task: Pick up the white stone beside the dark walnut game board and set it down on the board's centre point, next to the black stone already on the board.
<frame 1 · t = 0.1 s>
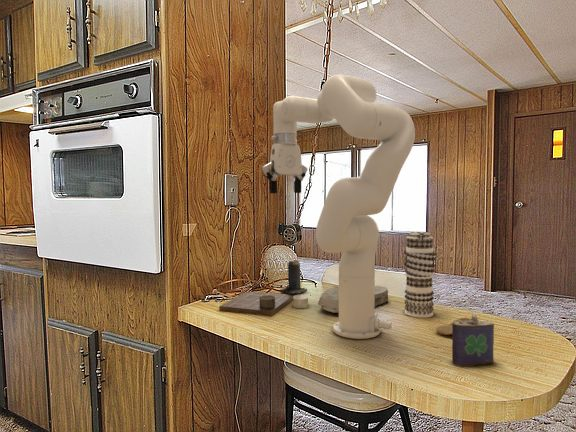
hand: (285, 193, 136), 37 cm above the table, tool pointing down, fingers open, 9 cm apart
flask: (473, 364, 90), on the table
dark post with base: (294, 292, 155), on the table
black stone: (267, 306, 130), point 2 cm above the table, touching board
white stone: (300, 306, 136), on the table
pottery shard: (459, 334, 109), on the table
board: (258, 304, 138), on the table
fossil stone: (352, 306, 136), on the table
decorative candle: (418, 313, 127), on the table
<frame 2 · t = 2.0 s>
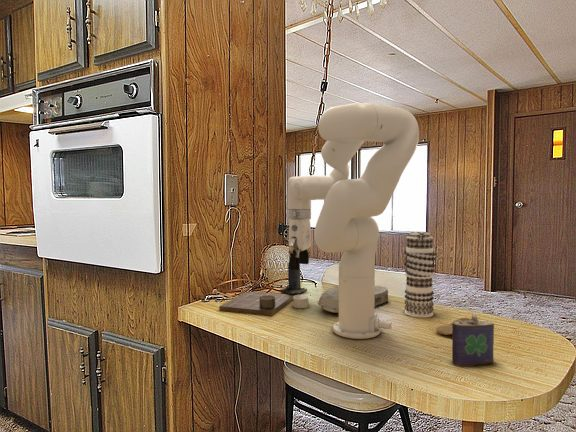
hand: (299, 266, 135), 13 cm above the table, tool pointing down, fingers open, 9 cm apart
nothing on the table moved.
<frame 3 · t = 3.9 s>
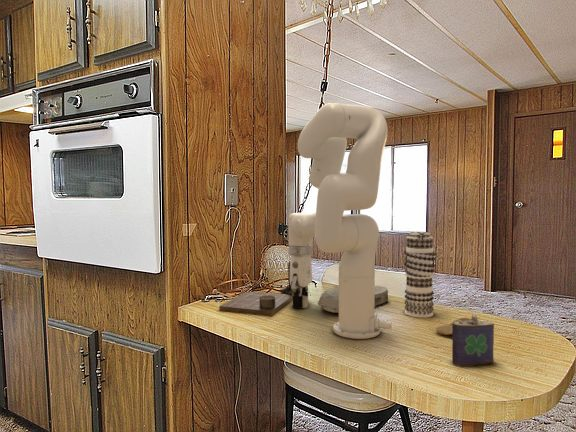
hand: (300, 304, 136), 0 cm above the table, tool pointing down, fingers closed on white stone, 5 cm apart
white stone: (300, 306, 136), on the table, touching gripper
everything else where it was.
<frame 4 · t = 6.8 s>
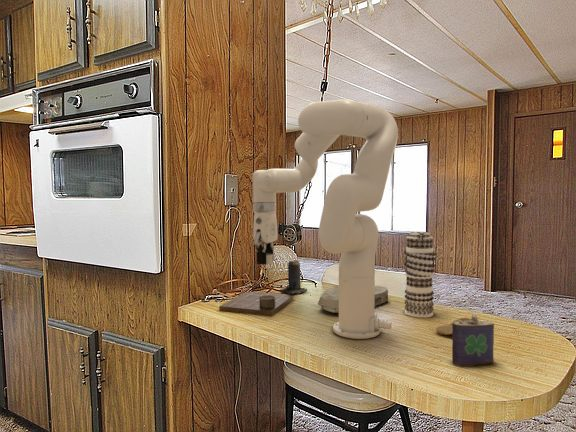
hand: (265, 262, 137), 14 cm above the table, tool pointing down, fingers closed on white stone, 5 cm apart
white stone: (265, 263, 137), point 14 cm above the table, touching gripper
everything else where it was.
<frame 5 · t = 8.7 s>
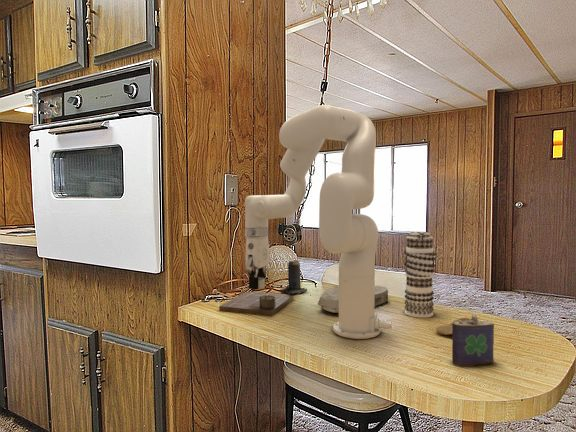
hand: (257, 286, 138), 6 cm above the table, tool pointing down, fingers closed on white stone, 5 cm apart
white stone: (257, 287, 138), point 6 cm above the table, touching gripper
everything else where it was.
when the fingers open (2 cm above the table, at t = 10.0 s): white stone stays where it is, resting on board.
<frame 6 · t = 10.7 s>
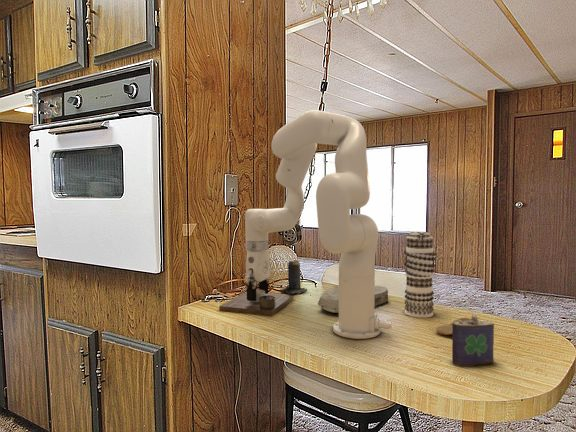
hand: (257, 296, 138), 3 cm above the table, tool pointing down, fingers open, 9 cm apart
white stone: (257, 300, 138), point 2 cm above the table, touching board
everything else where it was.
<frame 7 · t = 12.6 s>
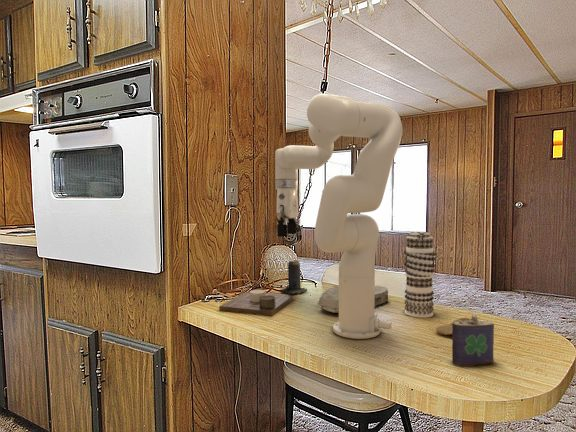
hand: (287, 235, 142), 23 cm above the table, tool pointing down, fingers open, 9 cm apart
nothing on the table moved.
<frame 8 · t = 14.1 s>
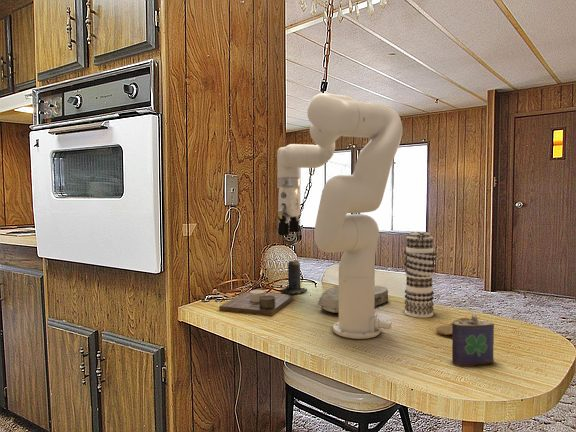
hand: (289, 233, 142), 23 cm above the table, tool pointing down, fingers open, 9 cm apart
nothing on the table moved.
at the end: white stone 0.1 cm off-centre on the board, point 1.6 cm above the board's base; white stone tilted 0°; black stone moved 0.1 cm from its start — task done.
